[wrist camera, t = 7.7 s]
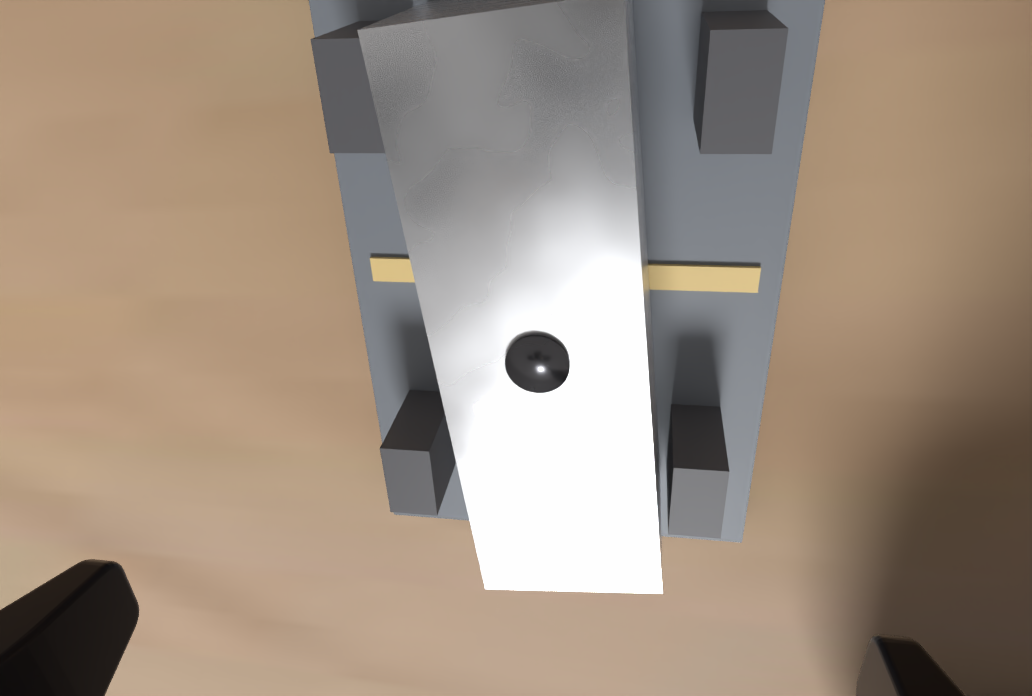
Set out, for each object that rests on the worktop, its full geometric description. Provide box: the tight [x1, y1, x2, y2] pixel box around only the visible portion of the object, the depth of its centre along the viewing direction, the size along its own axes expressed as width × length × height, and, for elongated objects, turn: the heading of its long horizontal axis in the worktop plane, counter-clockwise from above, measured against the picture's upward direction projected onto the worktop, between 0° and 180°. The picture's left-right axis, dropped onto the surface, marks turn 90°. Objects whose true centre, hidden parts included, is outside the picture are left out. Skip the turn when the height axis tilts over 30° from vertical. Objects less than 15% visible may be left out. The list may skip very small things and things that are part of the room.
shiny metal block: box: [357, 0, 662, 593], centre depth 15 cm, size 12×4×4 cm, turn 8°
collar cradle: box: [309, 0, 825, 542], centre depth 17 cm, size 16×10×4 cm, turn 2°
